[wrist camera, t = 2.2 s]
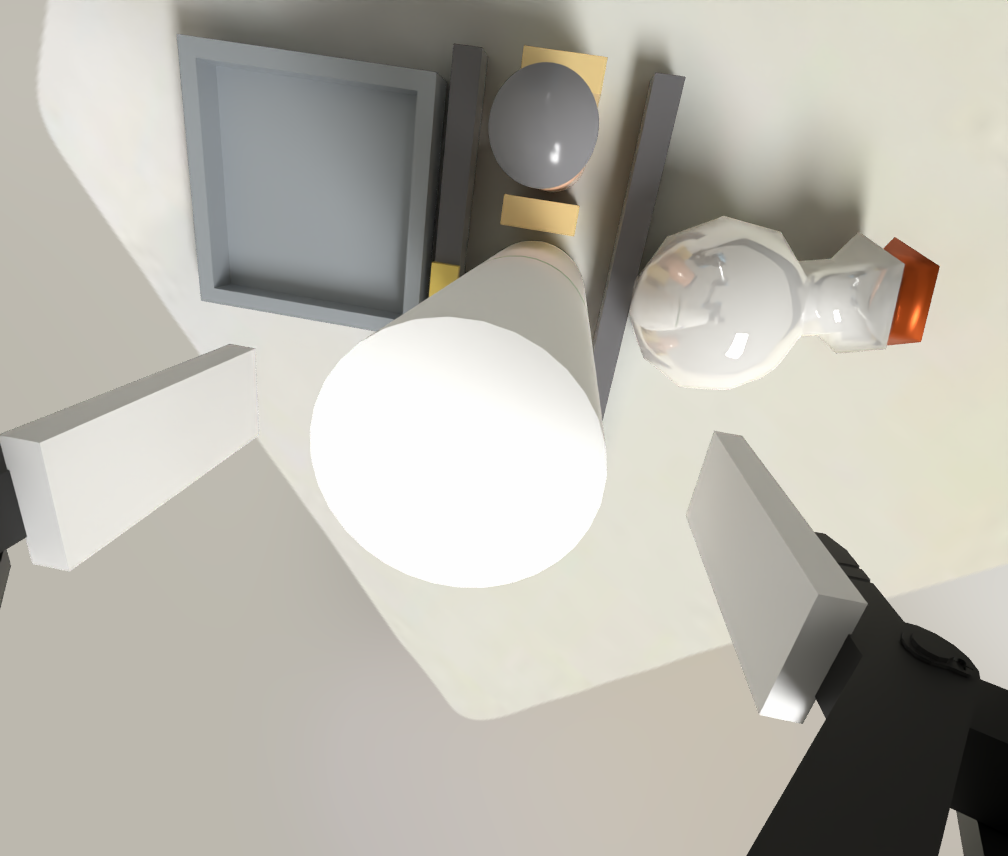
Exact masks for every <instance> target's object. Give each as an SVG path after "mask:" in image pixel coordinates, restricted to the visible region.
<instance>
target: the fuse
mask: <svg viewBox="0 0 1008 856" xmlns="http://www.w3.org/2000/svg"><path fill="white" fill-rule="evenodd" d="M488 129H489V140H490V145H491V148H492V152H493V154H494V156H495V159H496V160H497V162H498V164H499V165H500V167H501V168H502V169H503V171H504V172H505V173H506V174H507V175H508V176H510V177H511V178H512V179H513V180H515V181H517V182H518V183H520V184H522V185H525V186H528V187H531V188H535V189H540V190H543V191H546V192H560V191H563V190H566V189H568V188H570V187H571V186H572V185H574V184H575V183H576V182H577V181H578V180H579V178H580V177H581V175H582V174H583V172H584V169H585V167H586V164H587V162H588V161H589V159H590V157H591V155H592V153H593V150H594V147H595V145H596V141H597V137H598V130H599V116H598V109H597V104H596V101H595V98H594V95H593V93H592V91H591V89H590V88H589V86H588V85H587V83H586V82H585V81H584V80H583V79H582V77H581V76H580V75H578V74H577V73H576V72H575V71H573V70H572V69H570V68H568V67H566V66H564V65H561V64H557V63H553V62H540V63H535V64H531V65H528V66H526V67H523V68H522V69H520V70H518V71H517V72H515V73H514V74H513V75H512V76H510V77H509V78H508V80H507V81H506V82H505V83H504V84H503V85H502V87H501V88H500V90H499V91H498V93H497V95H496V97H495V99H494V102H493V104H492V108H491V111H490V116H489V127H488Z"/></svg>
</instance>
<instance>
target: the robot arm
mask: <svg viewBox="0 0 1008 856" xmlns="http://www.w3.org/2000/svg"><path fill="white" fill-rule="evenodd" d="M257 436H259V417H258V395H257V373H256V352H255V348H250V347H244V346H239V345H233V344H229V345H226V346H223V347H221V348H218V349H216V350H213V351H211V352H208V353H206V354H203V355H200V356H198V357H196V358H193V359H190V360H188V361H185V362H183V363H180V364H178V365H175V366H173V367H170V368H167V369H165V370H162V371H160V372H157V373H155V374H152V375H150V376H147V377H144V378H142V379H139V380H137V381H134V382H132V383H129V384H126V385H124V386H121V387H119V388H116V389H114V390H111V391H109V392H106V393H104V394H101V395H98V396H96V397H93V398H91V399H88V400H86V401H83V402H81V403H78V404H76V405H73V406H70V407H68V408H65V409H63V410H60V411H58V412H55V413H53V414H50V415H47V416H45V417H42V418H40V419H37V420H35V421H32V422H30V423H27V424H24V425H22V426H20V427H17V428H14V429H12V430H9V431H7V432H4V433H2V434H0V607H1V603H2V599H3V595H4V591H5V587H6V583H7V579H8V575H9V571H10V567H11V565H10V560H9V557H8V553H7V548H9V547H11V546H12V545H14V544H16V543H18V542H19V541H21V540H22V539H24V538H26V542H27V545H28V549H29V553H30V557H31V560H32V564H36V565H41V566H46V567H50V568H56V569H61V570H65V571H71V570H72V569H74V568H75V567H76V566H78V565H79V564H80V563H82V562H83V561H85V560H86V559H88V558H89V557H90V556H92V555H93V554H95V553H96V552H97V551H99V550H100V549H102V548H103V547H104V546H106V545H107V544H108V543H110V542H111V541H113V540H114V539H115V538H117V537H118V536H119V535H121V534H122V533H124V532H125V531H126V530H128V529H129V528H131V527H132V526H134V525H135V524H136V523H138V522H139V521H140V520H142V519H143V518H145V517H146V516H147V515H149V514H150V513H152V512H153V511H154V510H155V509H157V508H159V507H160V506H161V505H163V504H164V503H165V502H167V501H168V500H169V499H171V498H172V497H174V496H175V495H176V494H178V493H179V492H181V491H182V490H183V489H185V488H186V487H188V486H189V485H191V484H192V483H193V482H195V481H196V480H197V479H199V478H200V477H202V476H203V475H204V474H206V473H207V472H209V471H210V470H211V469H213V468H214V467H216V466H217V465H218V464H220V463H221V462H222V461H224V460H225V459H227V458H228V457H229V456H231V455H232V454H234V453H235V452H236V451H238V450H239V449H241V448H242V447H243V446H245V445H246V444H247V443H249V442H250V441H252V440H253V439H254V438H256V437H257ZM686 518H687V520H688V523H689V526H690V529H691V531H692V534H693V537H694V539H695V542H696V545H697V548H698V550H699V553H700V556H701V558H702V561H703V564H704V567H705V569H706V572H707V575H708V577H709V580H710V583H711V586H712V588H713V591H714V594H715V596H716V599H717V602H718V605H719V607H720V610H721V613H722V615H723V618H724V621H725V623H726V626H727V629H728V632H729V634H730V637H731V640H732V642H733V645H734V648H735V651H736V653H737V656H738V659H739V661H740V664H741V667H742V669H743V672H744V675H745V678H746V680H747V683H748V686H749V689H750V691H751V694H752V697H753V699H754V702H755V705H756V708H757V710H758V713H759V715H763V716H768V717H772V718H777V719H782V720H787V721H792V722H796V723H801V724H803V722H804V720H805V719H806V716H807V715H808V713H809V711H810V709H811V708H812V706H813V704H814V702H815V700H817V702H818V704H819V706H820V708H821V710H822V712H823V714H824V716H825V718H826V720H825V722H824V724H823V725H822V727H821V729H820V731H819V732H818V734H817V736H816V737H815V739H814V741H813V743H812V744H811V746H810V748H809V749H808V751H807V753H806V755H805V756H804V758H803V760H802V761H801V763H800V765H799V766H798V768H797V770H796V772H795V773H794V775H793V777H792V778H791V780H790V782H789V784H788V785H787V787H786V789H785V790H784V792H783V794H782V796H781V797H780V799H779V801H778V802H777V804H776V806H775V808H774V809H773V811H772V813H771V814H770V816H769V818H768V820H767V821H766V823H765V825H764V826H763V828H762V830H761V832H760V833H759V835H758V837H757V839H756V840H755V842H754V844H753V845H752V847H751V849H750V851H749V852H748V854H747V856H938V854H939V849H940V846H941V841H942V838H943V834H944V830H945V825H946V821H947V817H948V813H949V809H950V808H951V809H954V810H956V812H957V817H958V824H959V829H960V836H961V841H962V847H963V853H964V856H1008V690H1006V689H1003V688H1001V687H998V686H996V685H993V684H991V683H988V682H986V681H983V680H981V679H980V675H979V671H978V669H977V668H976V667H975V665H974V664H973V663H972V661H971V660H970V659H969V658H968V657H967V656H966V655H965V654H964V653H963V652H961V651H960V650H959V649H958V648H957V647H955V646H954V645H953V644H951V643H950V642H948V641H946V640H945V639H943V638H942V637H940V636H938V635H937V634H935V633H933V632H930V631H928V630H926V629H924V628H921V627H919V626H917V625H913V624H909V623H905V622H904V621H903V620H902V619H901V617H900V616H899V615H898V614H897V612H896V611H895V610H894V609H893V608H892V606H891V605H890V604H889V603H888V601H887V600H886V599H885V598H884V596H883V595H882V594H881V593H880V591H879V590H878V589H877V588H876V586H875V585H874V584H873V583H870V579H869V578H868V576H867V575H866V574H865V573H864V571H863V570H862V569H859V565H858V564H857V563H856V561H855V560H854V559H853V558H852V556H851V555H850V554H849V553H848V551H847V550H846V549H844V548H843V547H842V546H840V545H839V544H838V543H837V542H835V541H834V540H833V539H831V538H830V537H829V536H827V535H826V534H823V533H818V532H814V531H813V530H812V528H811V527H810V526H809V524H808V523H807V522H806V520H805V519H804V518H803V516H802V515H801V514H800V512H799V511H798V510H797V508H796V507H795V506H794V504H793V503H792V502H791V500H790V499H789V498H788V496H787V495H786V494H785V492H784V491H783V490H782V488H781V487H780V486H779V484H778V483H777V482H776V480H775V479H774V478H773V476H772V475H771V474H770V472H769V471H768V470H767V468H766V467H765V466H764V464H763V463H762V462H761V460H760V459H759V458H758V456H757V455H756V454H755V452H754V451H753V450H752V448H751V447H750V446H749V444H748V443H747V442H746V440H745V439H744V438H743V436H740V435H734V434H729V433H723V432H718V431H714V433H713V436H712V439H711V442H710V444H709V447H708V450H707V453H706V456H705V459H704V462H703V465H702V468H701V471H700V474H699V477H698V480H697V483H696V486H695V489H694V492H693V495H692V498H691V501H690V504H689V507H688V510H687V513H686Z"/></svg>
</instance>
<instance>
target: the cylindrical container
mask: <svg viewBox="0 0 1008 856" xmlns="http://www.w3.org/2000/svg"><path fill="white" fill-rule="evenodd" d="M310 446H311V460H312V464H313V468H314V471H315V475H316V479H317V483H318V486H319V488H320V490H321V492H322V494H323V496H324V498H325V500H326V502H327V504H328V506H329V508H330V510H331V511H332V513H333V514H334V515H335V517H336V518H337V519H338V521H339V522H340V524H341V525H342V526H343V528H344V529H345V530H346V531H347V532H348V533H349V534H350V535H351V536H352V537H353V538H354V539H355V540H356V541H357V542H358V543H359V544H360V545H361V546H362V547H363V548H364V549H366V550H367V551H368V552H370V553H371V554H373V555H374V556H375V557H377V558H378V559H379V560H381V561H382V562H384V563H386V564H388V565H390V566H392V567H393V568H395V569H397V570H399V571H401V572H403V573H405V574H407V575H410V576H413V577H416V578H419V579H422V580H425V581H428V582H431V583H436V584H442V585H448V586H453V587H492V586H498V585H503V584H509V583H514V582H516V581H519V580H522V579H525V578H527V577H530V576H533V575H536V574H538V573H539V572H541V571H543V570H545V569H546V568H548V567H550V566H551V565H553V564H555V563H557V562H558V561H559V560H560V559H561V558H562V557H564V556H565V555H566V554H567V553H568V552H569V551H571V550H572V549H573V548H574V547H575V546H576V544H577V543H578V542H579V541H580V539H581V538H582V537H583V535H584V534H585V533H586V532H587V530H588V529H589V528H590V526H591V524H592V522H593V519H594V517H595V515H596V513H597V511H598V509H599V507H600V505H601V501H602V496H603V492H604V487H605V482H606V478H607V468H606V444H605V437H604V429H603V422H602V414H601V407H600V399H599V392H598V385H597V377H596V370H595V362H594V355H593V347H592V340H591V332H590V325H589V318H588V311H587V303H586V295H585V287H584V283H583V279H582V275H581V273H580V271H579V269H578V267H577V265H576V264H575V263H574V261H573V260H572V259H571V258H570V257H569V256H568V255H567V254H566V253H565V252H564V251H562V250H561V249H559V248H558V247H556V246H554V245H551V244H548V243H546V242H540V241H523V242H519V243H516V244H513V245H510V246H508V247H507V248H505V249H503V250H501V251H500V252H498V253H497V254H495V255H494V256H492V257H491V258H489V259H488V260H486V261H485V262H483V263H482V264H480V265H478V266H477V267H475V268H474V269H472V270H470V271H469V272H467V273H466V274H464V275H463V276H461V277H460V278H458V279H457V280H455V281H454V282H452V283H450V284H449V285H447V286H446V287H444V288H443V289H441V290H440V291H438V292H437V293H435V294H433V295H432V296H430V297H429V298H427V299H426V300H424V301H423V302H421V303H420V304H418V305H417V306H415V307H413V308H412V309H410V310H409V311H407V312H406V313H404V314H403V315H401V316H400V317H398V318H396V319H395V320H393V321H392V322H390V323H389V324H387V325H386V326H384V327H383V328H381V329H380V330H378V331H376V332H375V333H373V334H372V335H370V336H369V337H367V338H366V339H364V340H363V341H361V342H360V343H358V344H357V345H356V346H355V347H354V348H353V349H352V350H351V351H349V352H348V353H347V354H346V355H345V356H344V357H343V358H342V359H340V360H339V362H338V363H337V365H336V366H335V367H334V369H333V370H332V372H331V373H330V374H329V376H328V377H327V378H326V380H325V382H324V384H323V386H322V389H321V391H320V393H319V396H318V398H317V400H316V403H315V405H314V411H313V416H312V422H311V428H310Z"/></svg>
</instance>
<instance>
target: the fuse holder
mask: <svg viewBox="0 0 1008 856" xmlns="http://www.w3.org/2000/svg"><path fill="white" fill-rule="evenodd" d="M607 58H608V57H602V56H595V55H588V54H581V53H574V52H567V51H560V50H553V49H546V48H539V47H532V46H525V45H524V48H523V55H522V63H521V69H522V68H523V67H526V66H528V65H531V64H535V63H540V62H553V63H557V64H561V65H564V66H566V67H568V68H570V69H572V70H573V71H575V72H576V73H577V74H578V75H580V76H581V77H582V79H583V80H584V81H585V82H586V83H587V85H588V86H589V88H590V89H591V91H592V93H593V95H594V98H595V101H596V104H597V107H598V103H599V99H600V95H601V90H602V85H603V79H604V74H605V69H606V63H607ZM487 63H488V56H487V54H486V53H485V51H484V49H483V48H482V47H475V46H468V45H461V44H454V47H453V59H452V70H451V82H450V94H449V105H448V117H447V128H446V140H445V151H444V163H443V174H442V186H441V197H440V209H439V220H438V232H437V243H436V255H435V262H432V266H431V278H430V290H429V297H430V296H432V295H433V294H435V293H437V292H438V291H440V290H441V289H443V288H444V287H446V286H447V285H449V284H450V283H452V282H454V281H455V280H457V279H458V278H460V277H461V276H463V275H464V272H465V263H466V254H467V245H468V236H469V227H470V218H471V209H472V199H473V190H474V181H475V172H476V163H477V154H478V145H479V136H480V127H481V118H482V108H483V99H484V90H485V81H486V72H487ZM684 81H685V77H683V76H676V75H669V74H662V73H655V74H654V76H653V77H652V79H651V81H650V85H649V90H648V94H647V99H646V103H645V108H644V113H643V117H642V122H641V126H640V131H639V135H638V140H637V145H636V149H635V154H634V158H633V163H632V167H631V172H630V176H629V181H628V186H627V190H626V195H625V199H624V204H623V208H622V213H621V218H620V222H619V227H618V231H617V236H616V240H615V245H614V250H613V254H612V259H611V263H610V268H609V272H608V277H607V282H606V286H605V291H604V295H603V300H602V304H601V309H600V313H599V318H598V323H597V327H596V332H595V336H594V341H593V345H592V347H593V355H594V362H595V370H596V377H597V385H598V392H599V399H600V407H601V414H602V421H603V417H604V413H605V408H606V404H607V400H608V396H609V392H610V388H611V384H612V379H613V375H614V371H615V367H616V363H617V359H618V355H619V350H620V346H621V342H622V338H623V334H624V330H625V326H626V321H627V317H628V313H629V309H630V305H631V298H632V292H633V286H634V281H635V279H636V278H637V276H638V272H639V268H640V264H641V259H642V255H643V251H644V247H645V243H646V239H647V235H648V230H649V226H650V222H651V218H652V214H653V210H654V206H655V201H656V197H657V193H658V189H659V185H660V181H661V177H662V172H663V168H664V164H665V160H666V156H667V152H668V148H669V143H670V139H671V135H672V131H673V127H674V123H675V119H676V114H677V110H678V106H679V102H680V98H681V94H682V90H683V86H684ZM579 207H580V206H578V205H571V204H565V203H559V202H552V201H546V200H540V199H533V198H527V197H521V196H514V195H507V194H504V199H503V207H502V214H501V222H500V224H501V225H507V226H513V227H519V228H526V229H532V230H538V231H544V232H550V233H556V234H563V235H569V236H574V234H575V229H576V223H577V218H578V213H579Z"/></svg>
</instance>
